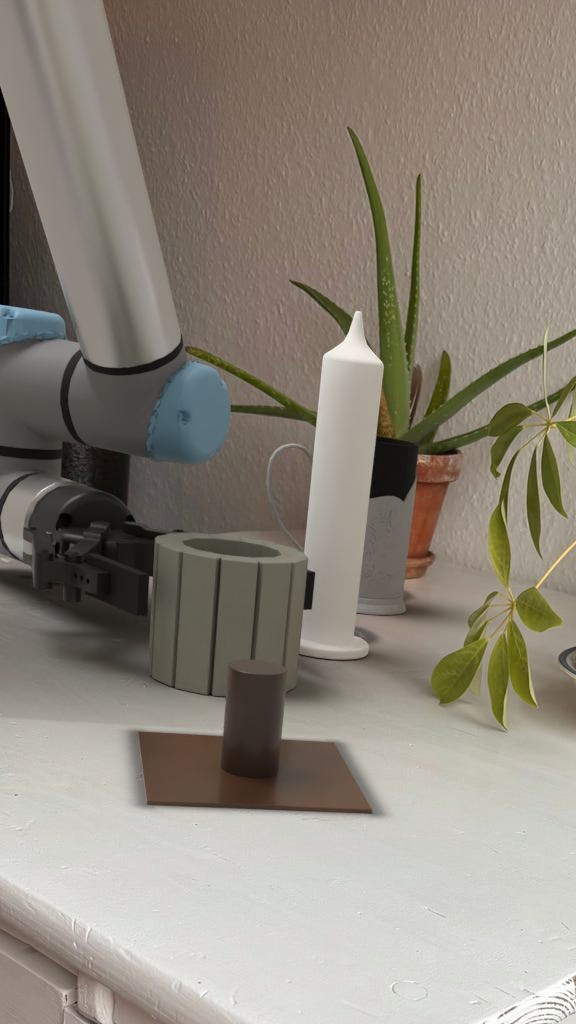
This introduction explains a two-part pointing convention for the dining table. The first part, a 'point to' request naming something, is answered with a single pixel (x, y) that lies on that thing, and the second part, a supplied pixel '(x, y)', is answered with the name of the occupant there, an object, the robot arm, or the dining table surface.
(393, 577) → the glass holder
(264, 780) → the peg stand
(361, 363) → the candle
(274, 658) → the slatted planter pot
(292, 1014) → the dining table surface
